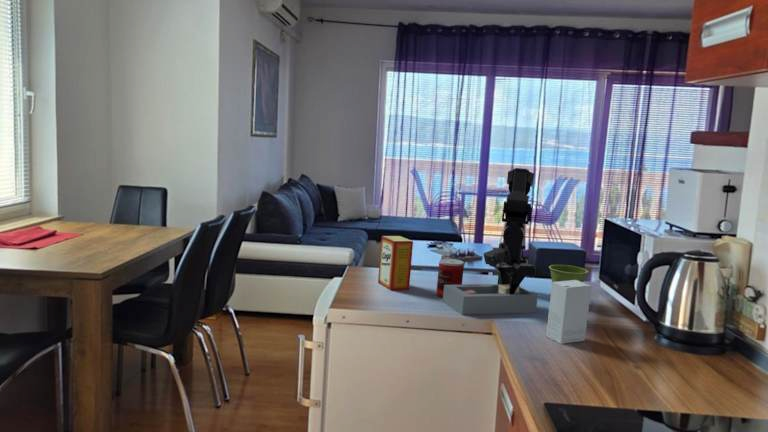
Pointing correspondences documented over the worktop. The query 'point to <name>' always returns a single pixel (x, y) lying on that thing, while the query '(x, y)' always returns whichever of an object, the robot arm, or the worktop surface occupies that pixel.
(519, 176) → the robot arm
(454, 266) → the canned food
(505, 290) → the beige block
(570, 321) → the skincare box
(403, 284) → the baking soda box
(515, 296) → the pocket board
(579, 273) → the plant pot
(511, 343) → the worktop surface
